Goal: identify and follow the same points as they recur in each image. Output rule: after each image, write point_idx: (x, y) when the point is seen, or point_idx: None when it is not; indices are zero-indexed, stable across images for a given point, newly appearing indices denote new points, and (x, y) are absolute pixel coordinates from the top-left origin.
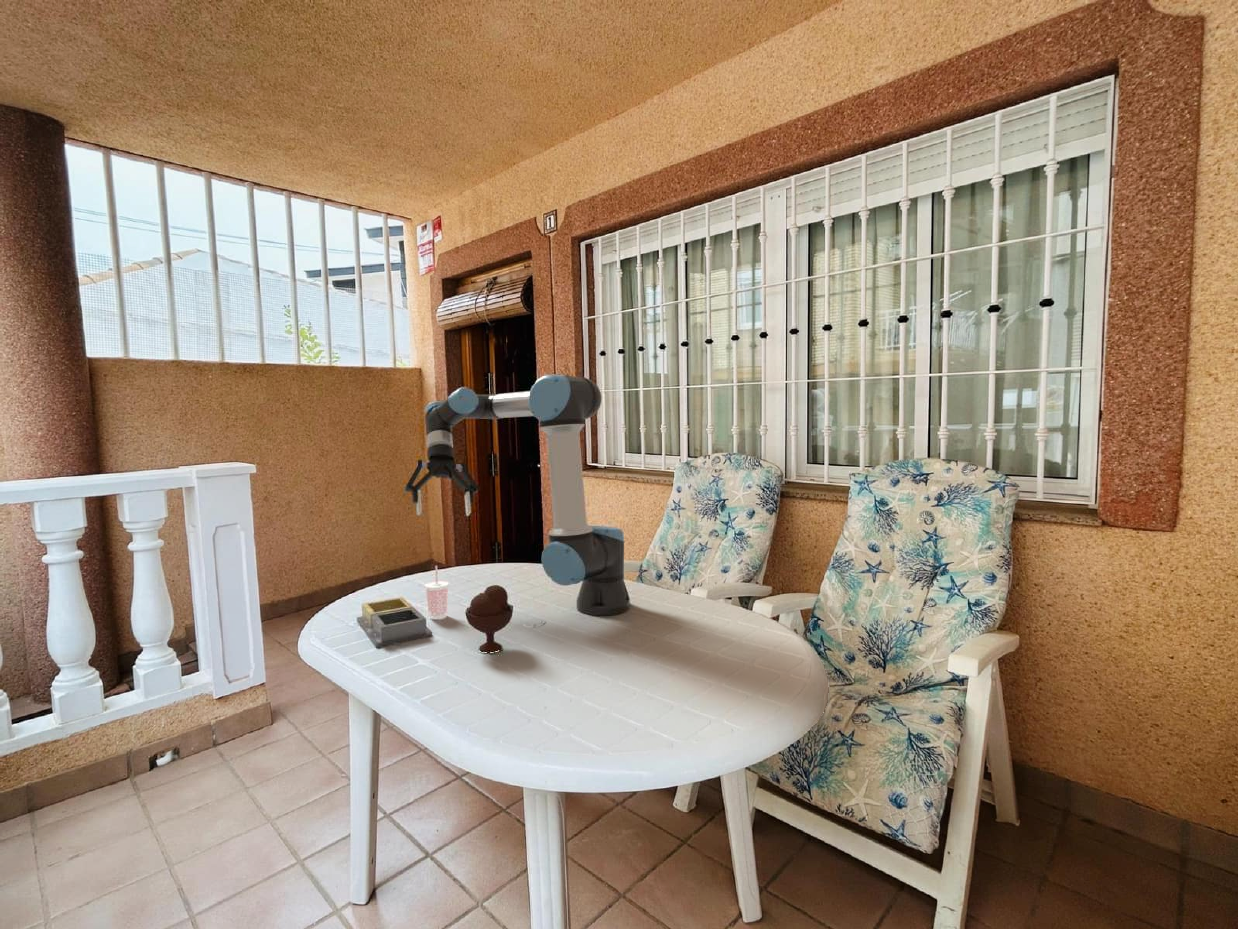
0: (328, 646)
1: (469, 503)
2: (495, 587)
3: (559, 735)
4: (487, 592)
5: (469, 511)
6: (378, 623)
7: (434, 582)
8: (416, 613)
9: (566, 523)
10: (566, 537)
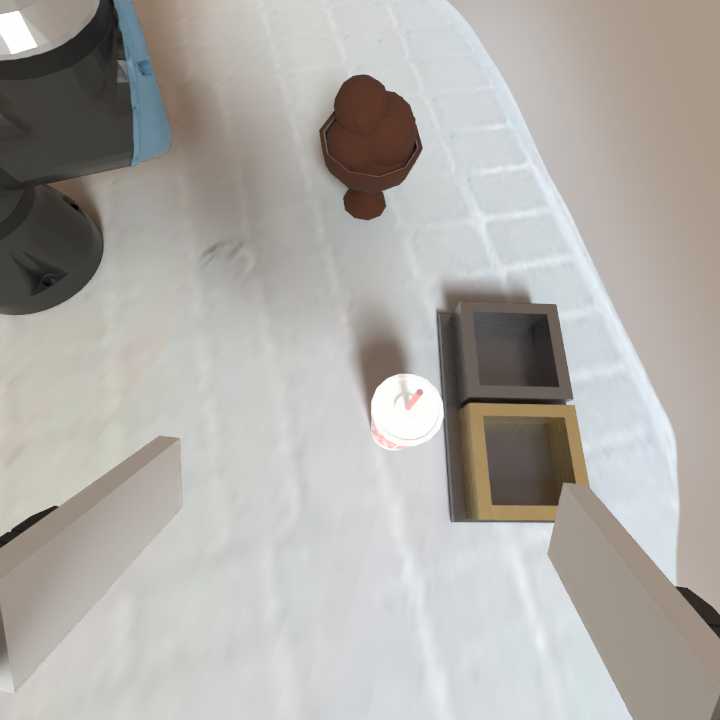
0: (634, 383)
1: (114, 475)
2: (367, 77)
3: (394, 2)
4: (385, 90)
5: (171, 438)
6: (560, 331)
7: (406, 439)
8: (472, 347)
9: None
10: None
